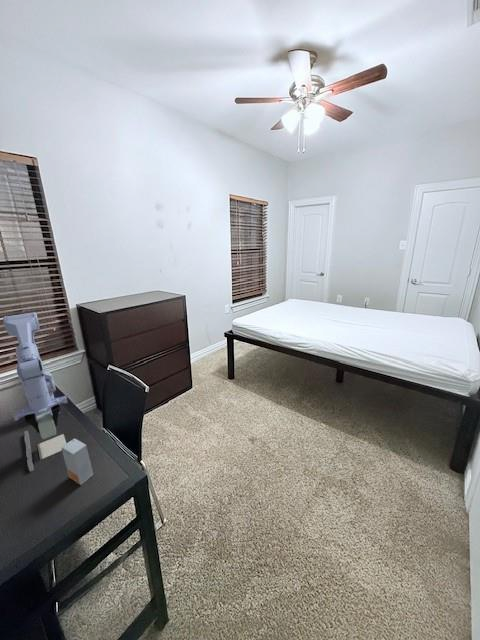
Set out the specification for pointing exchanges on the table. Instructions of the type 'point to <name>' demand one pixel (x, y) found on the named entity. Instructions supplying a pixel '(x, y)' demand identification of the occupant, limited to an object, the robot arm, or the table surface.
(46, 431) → the sage carton
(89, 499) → the table surface
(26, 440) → the rail
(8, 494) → the table surface
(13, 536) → the table surface
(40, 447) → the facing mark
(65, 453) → the skincare box
